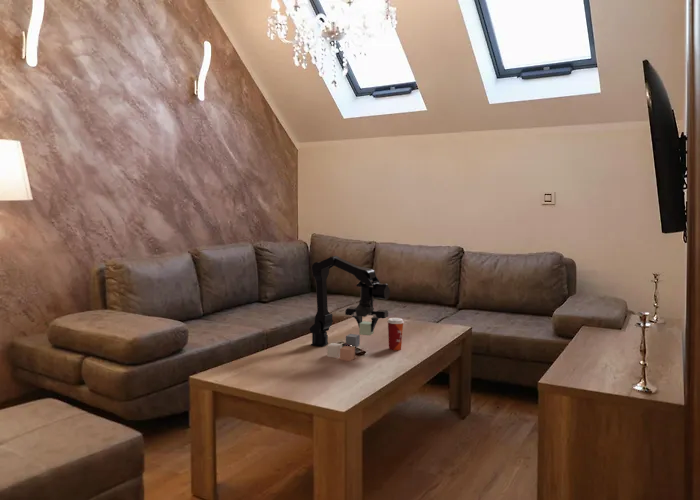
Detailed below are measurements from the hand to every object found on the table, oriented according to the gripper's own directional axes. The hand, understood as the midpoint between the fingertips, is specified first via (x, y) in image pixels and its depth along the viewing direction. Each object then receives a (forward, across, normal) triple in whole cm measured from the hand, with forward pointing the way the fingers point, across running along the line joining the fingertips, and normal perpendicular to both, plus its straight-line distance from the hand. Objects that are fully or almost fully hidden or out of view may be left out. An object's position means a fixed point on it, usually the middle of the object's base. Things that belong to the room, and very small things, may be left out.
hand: (366, 331), depth 255 cm
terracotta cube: (+10, -4, -12) cm, 16 cm away
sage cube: (+1, 0, 0) cm, 1 cm away
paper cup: (+10, +10, +12) cm, 19 cm away
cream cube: (+10, -11, -10) cm, 18 cm away
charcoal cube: (+10, -10, +9) cm, 17 cm away
